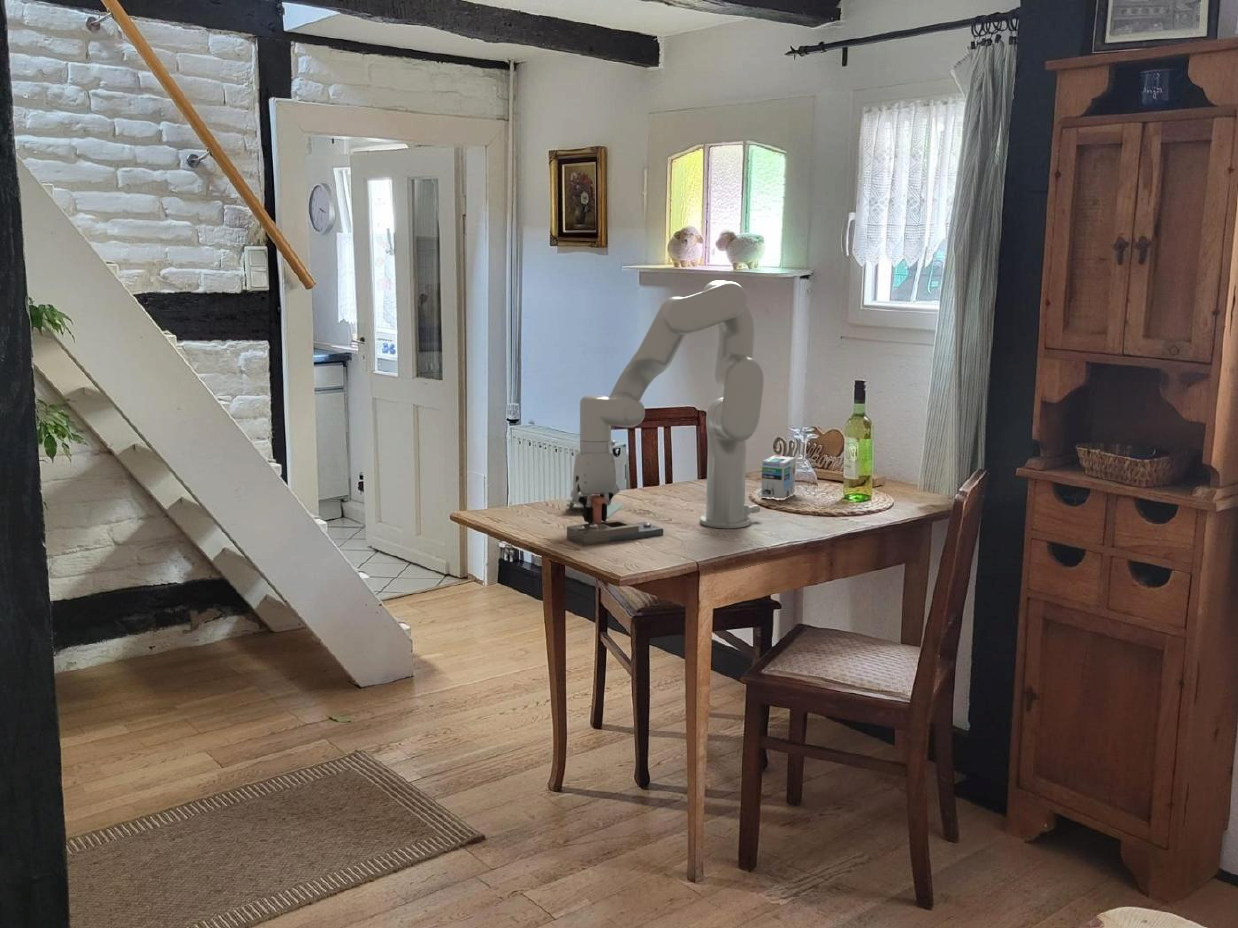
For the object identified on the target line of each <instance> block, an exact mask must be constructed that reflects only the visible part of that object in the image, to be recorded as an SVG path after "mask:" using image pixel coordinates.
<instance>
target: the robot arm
mask: <svg viewBox="0 0 1238 928" xmlns="http://www.w3.org/2000/svg"><path fill="white" fill-rule="evenodd" d="M747 303H748V294H747V292H746V290H745V289H744V288H743V286H742V285H741V284H739V283H737V282H734V281H727V280H713V281H711V282H709V283H707V284H706V285H705V286H704V287H703V290H702V291H700V292H697V293H695V294H692V295H689V296H685V297H683V296H672V297H669V298H667V299H666V300H665V301H663V303H662V304H661V306H660V307H659V309H658V311H657V313H656V315H655V317H654V319H653V321H652V322H651V324H650V327H649V328H648V331H647V332H646V334H645V336H644V338H643V339H642V342H641V344H640V345H639V347H638V349H637V351H636V352H635V354H634V355H633V356H632V357H631V359H630V361H629V362H628V364H627V365H626V367H625V368H623V369H624V370H623V371H622V373H621V374H620V375H619V377H618V379H617V381H616V383H615V385H614V387H613V389H612V391H611V393H610V395H609V397H608V396H605V395H599V394H598V395H586V396H584V397H582V398H581V399H580V401H579V452H577V453H576V456H575V459H574V465H573V473H572V475H573V476H572V490H571V493H570V498H571V497H573V498H575V499H577V500H578V501H579V502H580V503H581V505H583V507H582V510H583V511H582V518H583V521H584V522H585V523H587V524H589V523H592V522H593V507H591V499H592V494H599V496H601V497H603V498H606V499H607V503H602V522H604V521H607V518H606V517H607V505H608V504H609V501H610V500H611V499H612V500H613V498H614V496H616V495H617V494H619V493H620V489H619V486H618V484H617V470H616V467H617V466H616V461H615V456H614V452H613V451H612V447H615V445H616V441H615V440H612V427H621V428H634V427H636V426H638V425H640V424H641V423H642V422H643V420H644V418H645V415H646V410H645V406H644V404H643V402H642V401H641V399H642V398H643V396H644V394H645V392H646V391H647V389H648V387H649V386H650V385H651V383H652V382H653V381H654V379H655V378H657V377H659V375H660V374H662V373H664V372H665V371H666V370H667V369H668V368H669V367H670V366H671V364H672V362H673V360H674V358H675V357H676V354H677V352H678V350H679V348H680V347H681V345H682V343H683V341H684V339H685V337H686V336H687V335H688V334H689V335H690V334H693V333H696V332H699V331H702V330H705V329H708V328H710V327H714V326H718V346H717V353H716V364H715V370H714V380H715V382H716V384H717V386H718V387H719V388H721V390H723V396H722V397H719V398H716V399H715V400H713V401H712V402H711V403H710V405H709V406H708V409H707V411H706V417H705V427H706V438H707V462H706V465H707V466H706V502H705V503H706V508H705V509H706V510H705V511H706V512H705V514H703V515H701V516H700V518H699V523H700V524H702V525H704V526H707V527H709V528H716V529H738V528H739V529H740V528H743V527H748V526H749V525H751V518H750V517H749V515H750V514H758V513H759V512H761V511H760V510H761V509H760V506H759V505H758V504H755V505H750V506H749V504H747V503H745V502H746V501H745V500H746V474H747V473H746V472H747V471H746V467H747V466H746V465H747V440H749V439H750V438H751V437H752V436H753V435H754V434H755V433H756V431H757V429H758V426H759V424H760V423H759V422H760V415H761V410H762V401H763V392H764V381H765V380H764V372H763V369H762V367H761V365H760V364H759V363H758V361H756V360H755V359H754V358H753V357H754V356H753V355H754V342H755V324H754V323H755V322H754V319H753V315H752V313H751V310H750V309H749V306H748V304H747ZM579 492H581V493H582V496H580V495H579Z"/></svg>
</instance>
